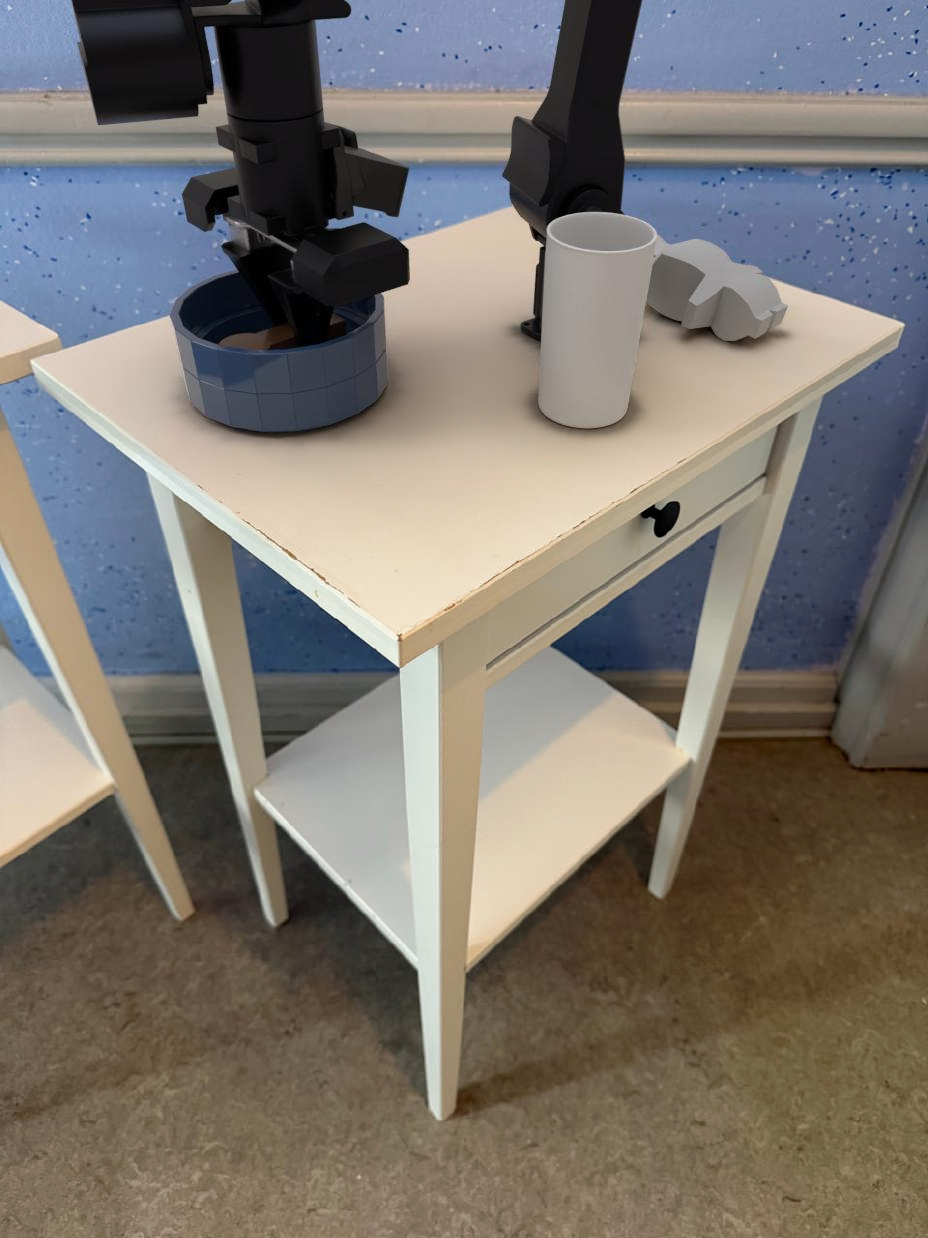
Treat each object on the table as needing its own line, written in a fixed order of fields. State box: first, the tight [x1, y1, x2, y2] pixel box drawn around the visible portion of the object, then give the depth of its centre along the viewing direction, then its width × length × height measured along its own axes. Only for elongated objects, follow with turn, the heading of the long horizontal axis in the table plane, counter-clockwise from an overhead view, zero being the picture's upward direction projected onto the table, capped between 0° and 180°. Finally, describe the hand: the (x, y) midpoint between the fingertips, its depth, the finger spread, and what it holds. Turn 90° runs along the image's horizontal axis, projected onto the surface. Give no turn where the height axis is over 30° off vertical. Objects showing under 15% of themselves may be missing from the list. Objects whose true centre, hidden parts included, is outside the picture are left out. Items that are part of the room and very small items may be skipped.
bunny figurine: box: [646, 233, 789, 342], centre depth 73 cm, size 10×5×15 cm
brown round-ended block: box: [218, 313, 346, 350], centre depth 64 cm, size 4×9×3 cm, turn 130°
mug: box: [537, 212, 658, 429], centre depth 61 cm, size 10×7×12 cm, turn 142°
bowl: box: [169, 269, 389, 433], centre depth 63 cm, size 14×14×6 cm
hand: (304, 352), depth 65 cm, fingers closed on brown round-ended block, 2 cm apart
